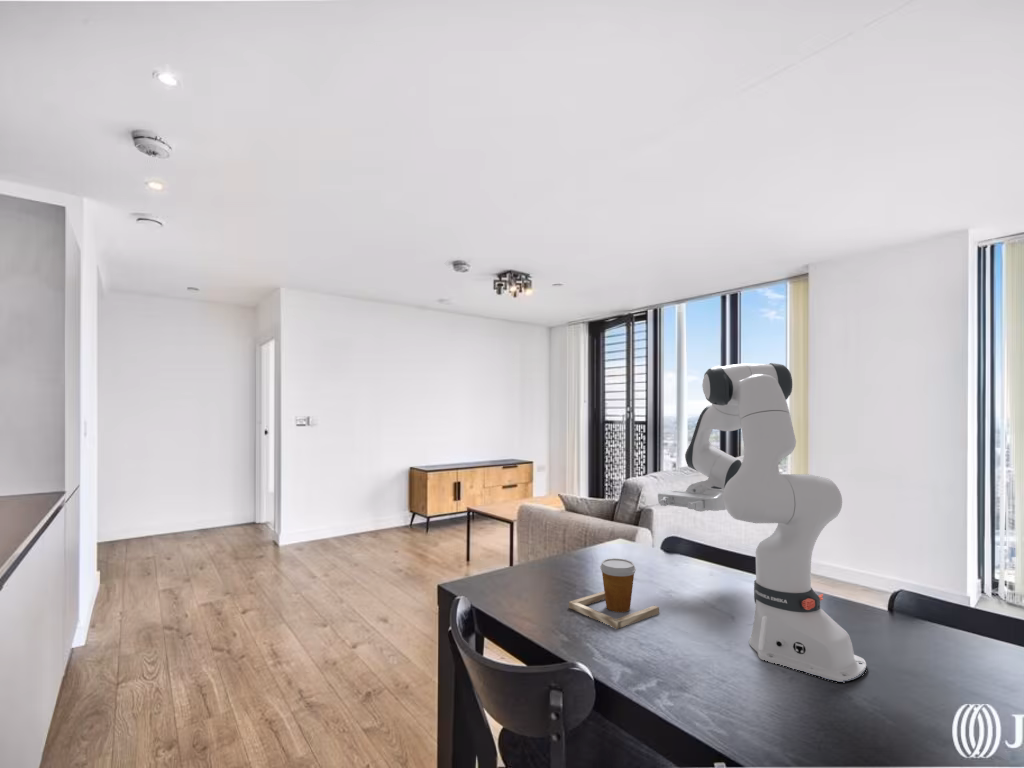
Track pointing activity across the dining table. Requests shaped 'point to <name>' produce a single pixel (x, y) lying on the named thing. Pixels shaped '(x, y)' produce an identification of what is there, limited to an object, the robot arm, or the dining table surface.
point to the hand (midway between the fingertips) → (675, 504)
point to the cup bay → (616, 623)
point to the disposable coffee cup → (618, 583)
